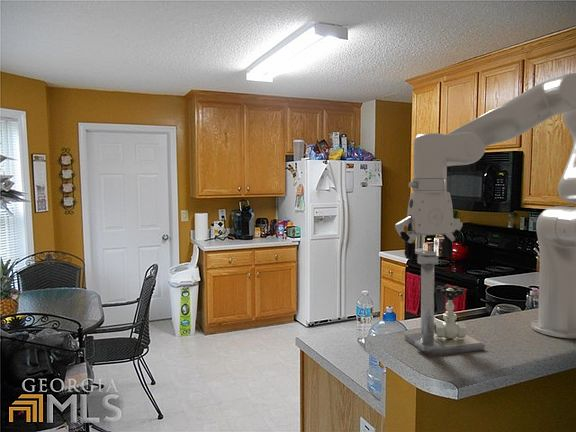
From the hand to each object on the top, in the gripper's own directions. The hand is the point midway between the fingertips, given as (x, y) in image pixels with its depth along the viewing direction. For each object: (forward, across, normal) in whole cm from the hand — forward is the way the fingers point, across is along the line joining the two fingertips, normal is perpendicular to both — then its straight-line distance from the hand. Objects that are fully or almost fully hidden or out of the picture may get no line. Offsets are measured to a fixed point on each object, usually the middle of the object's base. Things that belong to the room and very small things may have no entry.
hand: (428, 258), depth 106 cm
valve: (+19, +4, -4) cm, 20 cm away
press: (+20, +2, -4) cm, 20 cm away
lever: (0, -4, -2) cm, 4 cm away
